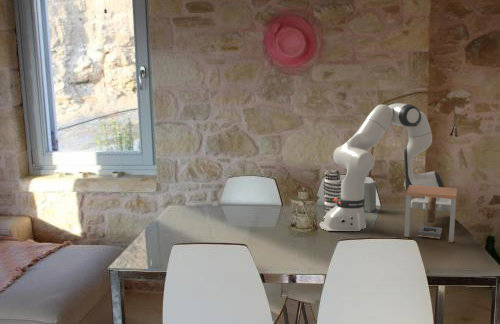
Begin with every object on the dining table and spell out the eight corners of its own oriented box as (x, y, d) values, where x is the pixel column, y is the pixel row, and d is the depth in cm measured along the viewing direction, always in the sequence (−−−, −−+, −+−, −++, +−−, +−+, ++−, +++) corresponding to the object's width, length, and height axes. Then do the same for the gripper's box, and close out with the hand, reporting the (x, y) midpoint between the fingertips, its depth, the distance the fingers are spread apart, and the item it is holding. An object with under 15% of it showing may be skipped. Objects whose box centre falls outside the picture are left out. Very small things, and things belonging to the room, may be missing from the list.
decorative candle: (342, 220, 272) (343, 172, 267) (324, 220, 272) (324, 172, 267) (339, 215, 280) (340, 168, 276) (322, 215, 281) (322, 168, 276)
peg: (429, 223, 252) (430, 198, 250) (425, 220, 256) (427, 196, 254) (436, 222, 253) (437, 198, 251) (432, 220, 256) (433, 196, 254)
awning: (407, 228, 257) (409, 184, 253) (454, 233, 249) (457, 188, 245) (404, 238, 243) (406, 192, 239) (453, 243, 235) (456, 195, 231)
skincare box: (370, 212, 285) (370, 183, 282) (357, 210, 289) (358, 182, 286) (376, 209, 291) (377, 180, 288) (364, 207, 295) (365, 179, 293)
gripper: (411, 194, 268) (409, 200, 256) (455, 197, 261) (454, 204, 248) (411, 206, 269) (408, 213, 257) (454, 210, 262) (453, 217, 249)
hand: (431, 208), depth 252 cm, fingers closed on peg, 3 cm apart
